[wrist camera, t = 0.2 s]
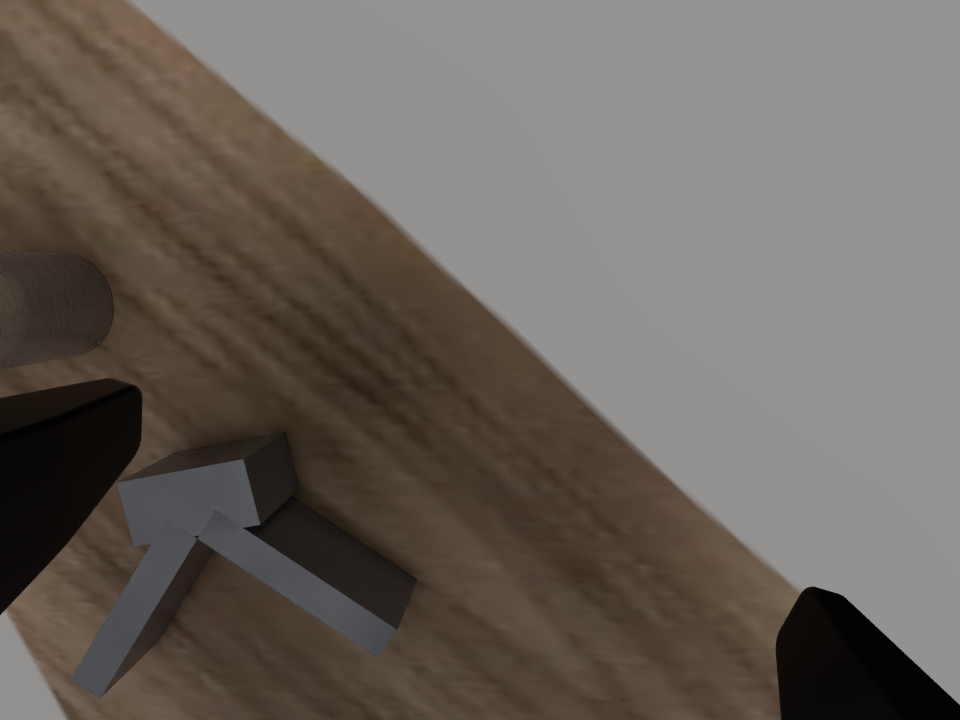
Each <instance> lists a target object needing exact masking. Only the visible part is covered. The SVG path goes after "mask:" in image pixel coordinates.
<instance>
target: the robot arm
mask: <svg viewBox="0 0 960 720" xmlns="http://www.w3.org/2000/svg"><path fill="white" fill-rule="evenodd" d="M141 432H142V393H141V390H140V389H139V388H138V387H137V386H136V385H132V384H129V383H126V382H122V381H119V380H116V379H112V378H105V379H100V380H94V381H89V382H84V383H78V384H73V385H67V386H62V387H57V388H51V389H46V390H40V391H35V392H30V393H24V394H19V395H13V396H8V397H3V398H0V615H1V614H2V613H3V612H4V611H5V609H6V608H7V607H8V606H9V605H10V604H11V603H12V602H13V601H14V600H15V599H16V598H17V597H18V596H19V595H20V594H21V593H22V591H23V590H24V589H25V588H26V587H27V586H28V585H29V584H30V583H31V582H32V581H33V580H34V579H35V578H36V577H37V576H38V575H39V573H40V572H41V571H42V570H43V569H44V568H45V567H46V566H47V565H48V564H49V563H50V562H51V561H52V560H53V559H54V558H55V556H56V555H57V554H58V553H59V552H60V551H61V550H62V549H63V548H64V546H65V545H66V544H67V543H68V542H69V541H70V539H71V538H72V537H73V536H74V534H75V533H76V532H77V531H78V530H79V528H80V527H81V526H82V524H83V523H84V522H85V520H86V519H87V518H88V517H89V515H90V514H91V513H92V511H93V510H94V509H95V507H96V506H97V505H98V503H99V502H100V501H101V499H102V498H103V497H104V496H105V494H106V493H107V492H108V490H109V489H110V488H111V486H112V485H113V484H114V482H115V481H116V480H117V479H118V477H119V476H120V475H121V473H122V472H123V471H124V469H125V468H126V467H127V465H128V464H129V463H130V462H131V460H132V459H133V458H134V456H135V455H136V453H137V451H138V448H139V446H140V442H141ZM776 661H777V674H778V686H779V699H780V711H781V720H960V705H959V704H958V703H957V702H956V701H955V700H954V699H953V698H952V697H951V696H950V695H949V694H947V693H946V692H945V691H944V690H943V689H942V688H941V687H940V686H939V685H938V684H937V683H936V682H934V680H933V679H931V678H930V677H929V676H928V675H927V674H926V673H925V672H924V671H923V670H922V669H921V668H920V667H919V666H918V665H917V664H915V663H914V662H913V661H912V660H911V659H910V658H909V657H908V656H907V655H906V654H905V653H904V652H903V651H902V650H901V649H899V648H898V647H897V646H896V645H895V644H894V643H893V642H892V641H891V640H890V639H889V638H888V637H887V636H886V635H884V634H883V633H882V632H881V631H880V630H879V629H878V628H877V627H876V626H875V625H874V624H873V623H872V622H871V621H870V620H869V619H867V618H866V617H865V616H864V615H863V614H862V613H861V612H860V611H859V610H858V609H857V608H856V607H855V606H854V605H852V604H851V603H850V602H849V601H848V600H847V599H846V598H845V597H844V596H842V595H840V594H837V593H834V592H831V591H827V590H824V589H820V588H817V587H808V588H806V589H805V590H804V591H803V592H802V593H801V594H800V596H799V598H798V599H797V601H796V603H795V605H794V606H793V608H792V610H791V611H790V613H789V615H788V617H787V618H786V620H785V622H784V624H783V625H782V627H781V629H780V631H779V633H778V636H777V641H776Z"/></svg>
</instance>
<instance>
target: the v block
mask: <svg viewBox="0 0 960 720" xmlns="http://www.w3.org/2000/svg"><path fill="white" fill-rule="evenodd" d="M117 487H118V490H119V494H120V498H121V501H122V505H123V508H124V512H125V515H126V519H127V522H128V526H129V529H130V533H131V536H132V540H133V544H134V547H136V546H142V545H147V544H151V545H150V547H149V548H148V550H147V552H146V554H145V555H144V557H143V559H142V560H141V562H140V564H139V565H138V567H137V569H136V570H135V572H134V574H133V575H132V577H131V579H130V580H129V582H128V584H127V585H126V587H125V589H124V590H123V592H122V594H121V595H120V597H119V599H118V600H117V602H116V604H115V606H114V607H113V609H112V611H111V612H110V614H109V616H108V617H107V619H106V621H105V622H104V624H103V626H102V627H101V629H100V631H99V632H98V634H97V636H96V637H95V639H94V641H93V642H92V644H91V646H90V647H89V649H88V651H87V653H86V654H85V656H84V658H83V659H82V661H81V663H80V664H79V666H78V668H77V669H76V671H75V673H74V674H73V676H72V678H71V680H72V681H74V682H75V683H77V684H78V685H80V686H81V687H83V688H84V689H86V690H87V691H89V692H90V693H92V694H93V695H95V696H96V697H98V698H99V699H100V698H101V697H102V696H103V695H104V694H105V693H106V692H107V691H108V690H109V689H110V688H111V687H112V686H113V685H114V684H115V683H116V682H117V681H118V680H119V679H120V678H122V677H123V676H124V675H125V674H126V673H127V672H128V671H129V670H130V669H131V668H132V667H133V666H134V665H135V664H136V663H137V662H138V661H139V660H140V659H141V658H142V657H143V656H144V655H145V654H146V653H147V652H148V651H149V650H150V649H151V648H152V647H153V646H154V645H155V644H156V643H157V642H158V640H159V638H160V637H161V635H162V634H163V632H164V630H165V629H166V627H167V626H168V624H169V622H170V621H171V619H172V617H173V616H174V614H175V613H176V611H177V609H178V608H179V606H180V604H181V603H182V601H183V600H184V598H185V596H186V595H187V593H188V591H189V590H190V588H191V587H192V585H193V583H194V582H195V580H196V579H197V577H198V575H199V574H200V572H201V570H202V569H203V567H204V566H205V564H206V562H207V561H208V559H209V557H210V556H211V554H212V553H213V551H214V550H215V551H217V552H218V553H220V554H221V555H223V556H224V557H226V558H227V559H229V560H230V561H232V562H233V563H235V564H236V565H238V566H239V567H241V568H242V569H244V570H245V571H247V572H248V573H250V574H252V575H253V576H255V577H256V578H258V579H259V580H261V581H262V582H264V583H265V584H267V585H268V586H270V587H271V588H273V589H274V590H276V591H277V592H279V593H280V594H282V595H283V596H285V597H286V598H288V599H289V600H291V601H292V602H294V603H295V604H297V605H298V606H300V607H301V608H303V609H305V610H306V611H308V612H309V613H311V614H312V615H314V616H315V617H317V618H318V619H320V620H321V621H323V622H324V623H326V624H327V625H329V626H330V627H332V628H333V629H335V630H336V631H338V632H339V633H341V634H342V635H344V636H345V637H347V638H348V639H350V640H351V641H353V642H355V643H356V644H358V645H359V646H361V647H362V648H364V649H365V650H367V651H368V652H370V653H371V654H373V655H374V656H376V657H377V658H378V657H379V655H380V654H381V652H382V651H383V650H384V648H385V647H386V645H387V644H388V642H389V641H390V639H391V638H392V637H393V635H394V634H395V632H396V631H397V629H398V627H399V624H400V621H401V619H402V616H403V614H404V611H405V609H406V606H407V604H408V601H409V599H410V596H411V594H412V591H413V589H414V586H415V584H416V581H417V580H416V579H415V578H413V577H412V576H410V575H408V574H407V573H405V572H404V571H402V570H401V569H399V568H398V567H396V566H395V565H393V564H392V563H390V562H389V561H387V560H386V559H384V558H383V557H381V556H380V555H378V554H377V553H375V552H374V551H372V550H371V549H369V548H368V547H366V546H365V545H363V544H362V543H360V542H359V541H357V540H355V539H354V538H352V537H351V536H349V535H348V534H346V533H345V532H343V531H342V530H340V529H339V528H337V527H336V526H334V525H333V524H331V523H330V522H328V521H327V520H325V519H324V518H322V517H321V516H319V515H318V514H316V513H315V512H313V511H312V510H310V509H309V508H307V507H306V506H304V505H302V504H301V503H299V502H298V501H296V500H295V499H293V498H292V497H291V496H292V495H293V494H294V493H295V492H296V491H297V490H298V489H299V488H298V484H297V480H296V476H295V472H294V468H293V464H292V460H291V456H290V452H289V448H288V444H287V440H286V436H285V432H283V433H278V434H272V435H267V436H262V437H257V438H251V439H246V440H241V441H236V442H231V443H225V444H220V445H215V446H210V447H204V448H199V449H194V450H189V451H183V452H178V453H173V454H172V455H170V456H168V457H166V458H164V459H162V460H160V461H158V462H156V463H154V464H152V465H150V466H148V467H146V468H144V469H142V470H140V471H139V472H137V473H135V474H133V475H131V476H129V477H127V478H125V479H123V480H121V481H119V482H117Z"/></svg>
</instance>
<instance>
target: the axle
mask: <svg viewBox="0 0 960 720" xmlns="http://www.w3.org/2000/svg"><path fill="white" fill-rule="evenodd" d="M112 318H113V300H112V295H111V292H110V289H109V286H108V284H107V282H106V280H105V279H104V277H103V276H102V274H101V273H100V272H99V270H98V269H97V268H96V267H95V266H93V265H92V264H91V263H90V262H88V261H87V260H85V259H83V258H81V257H79V256H77V255H74V254H70V253H64V252H18V251H0V370H4V369H9V368H14V367H19V366H24V365H29V364H34V363H40V362H45V361H50V360H55V359H60V358H65V357H70V356H75V355H79V354H83V353H86V352H88V351H90V350H92V349H93V348H95V347H96V346H97V345H98V344H99V343H100V342H101V341H102V340H103V339H104V337H105V336H106V334H107V333H108V331H109V329H110V326H111V323H112Z"/></svg>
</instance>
